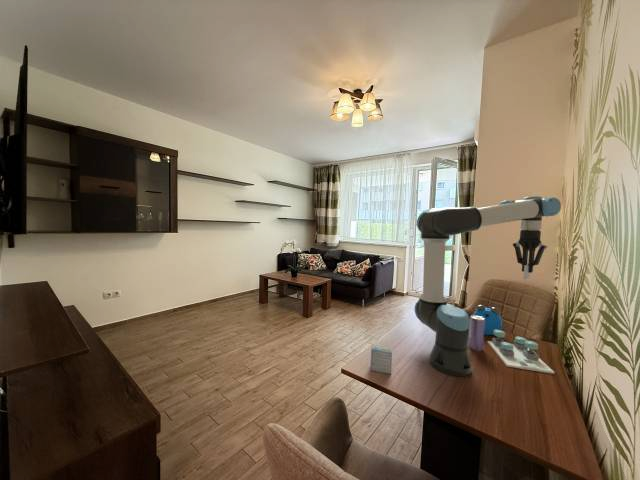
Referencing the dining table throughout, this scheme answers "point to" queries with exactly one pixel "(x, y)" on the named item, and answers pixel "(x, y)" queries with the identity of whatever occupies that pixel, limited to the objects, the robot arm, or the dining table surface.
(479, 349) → the beverage can
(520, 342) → the button
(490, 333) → the alarm clock
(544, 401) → the dining table surface
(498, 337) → the button
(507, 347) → the button
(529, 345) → the button
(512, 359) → the board
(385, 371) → the medicine box
